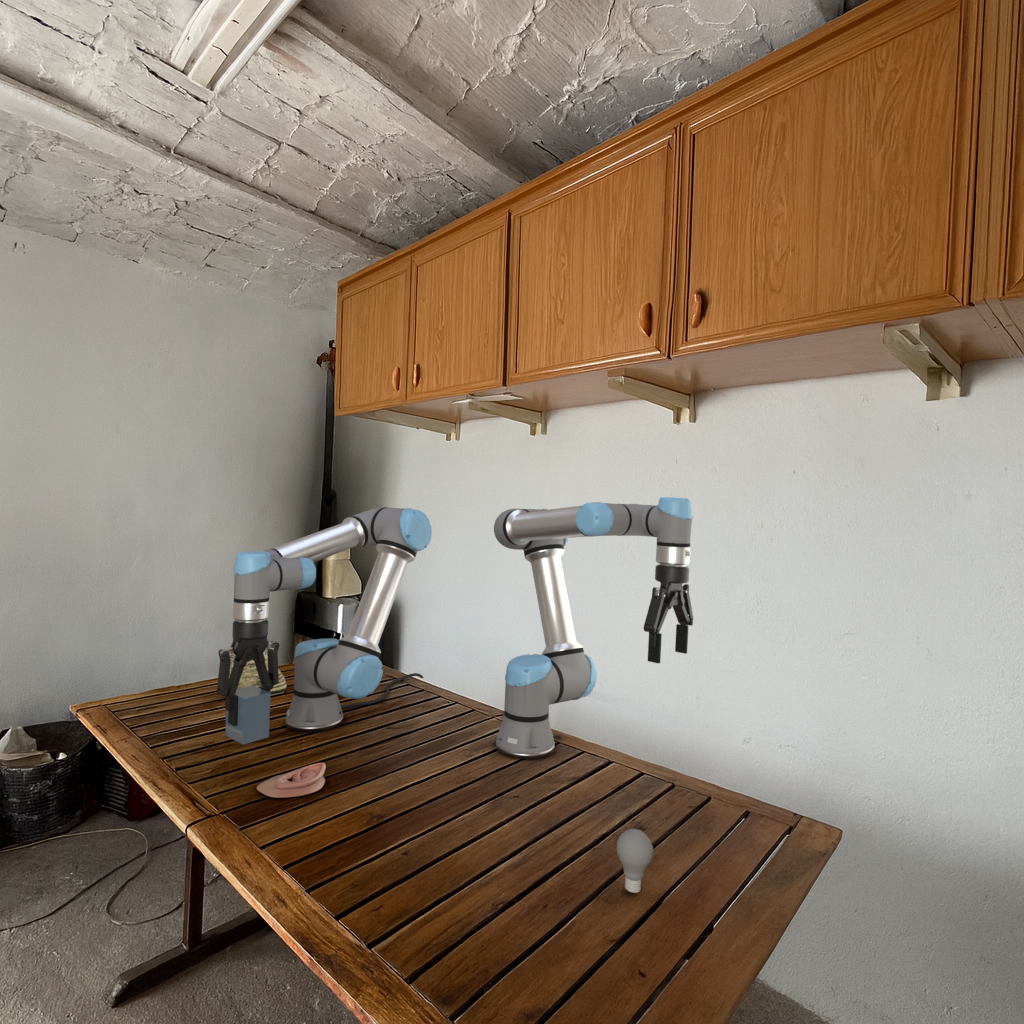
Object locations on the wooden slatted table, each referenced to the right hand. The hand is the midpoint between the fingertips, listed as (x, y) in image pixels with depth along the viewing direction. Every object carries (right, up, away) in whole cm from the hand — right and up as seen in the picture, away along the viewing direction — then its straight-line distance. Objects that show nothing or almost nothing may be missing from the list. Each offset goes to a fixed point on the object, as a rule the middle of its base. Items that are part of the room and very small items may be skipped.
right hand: (667, 657), depth 145 cm
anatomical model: (-84, -27, -8) cm, 88 cm away
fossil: (-116, -24, +53) cm, 130 cm away
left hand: (-96, -14, -1) cm, 97 cm away
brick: (-96, -18, -1) cm, 98 cm away
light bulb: (-16, -30, -39) cm, 52 cm away
